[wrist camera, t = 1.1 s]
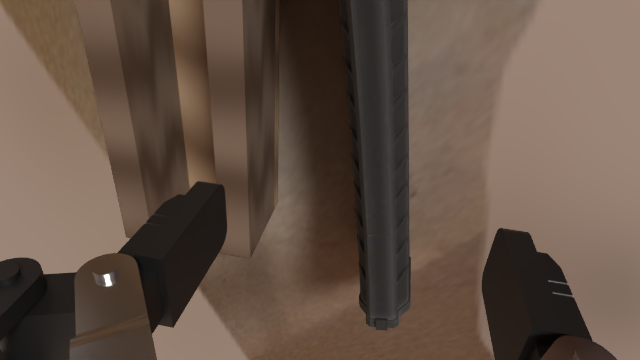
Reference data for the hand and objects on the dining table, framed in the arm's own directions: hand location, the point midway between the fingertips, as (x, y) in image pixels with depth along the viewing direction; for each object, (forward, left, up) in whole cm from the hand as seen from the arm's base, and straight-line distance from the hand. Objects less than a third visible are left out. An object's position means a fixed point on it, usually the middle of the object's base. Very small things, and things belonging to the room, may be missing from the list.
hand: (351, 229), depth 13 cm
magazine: (0, 0, -18) cm, 18 cm away
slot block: (0, -12, -18) cm, 21 cm away
